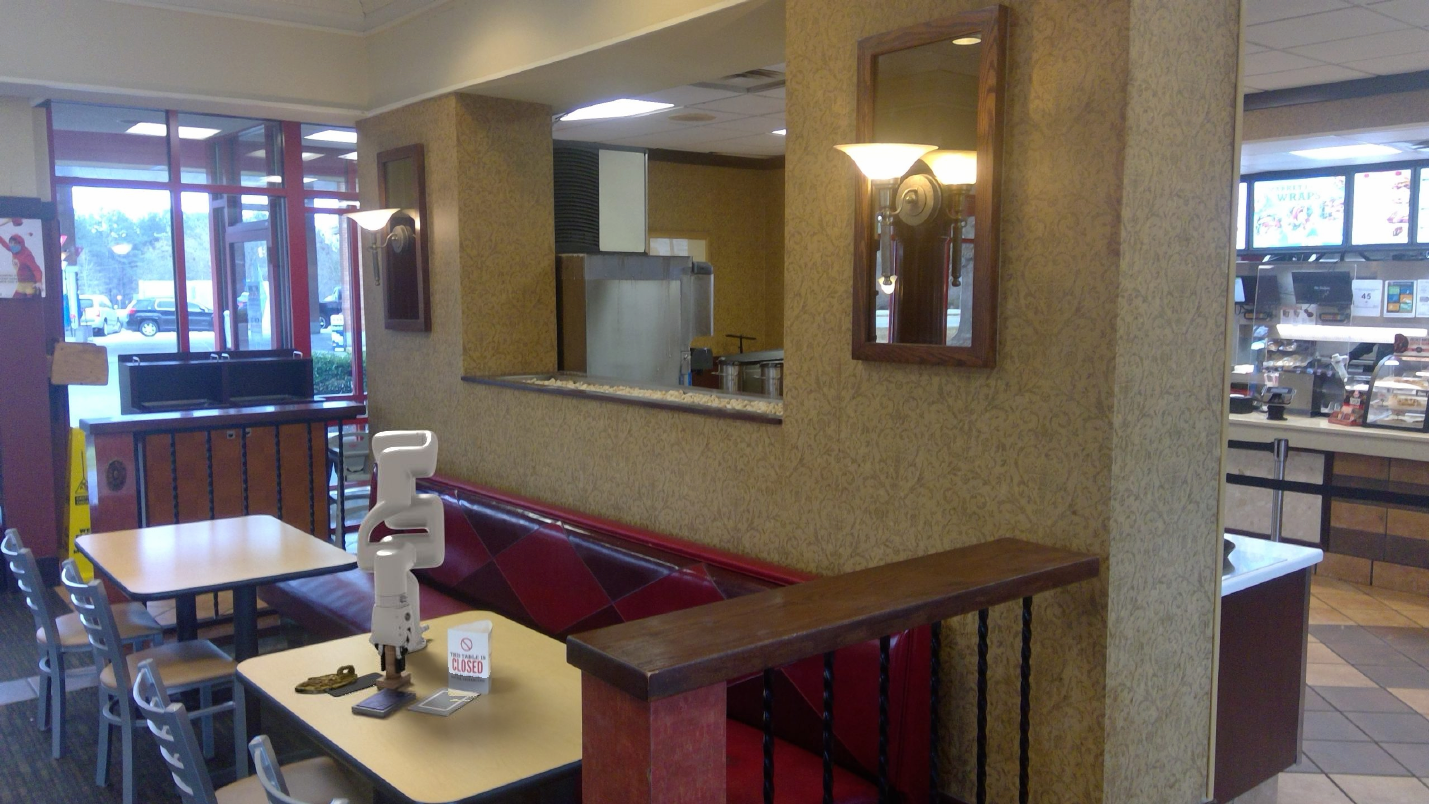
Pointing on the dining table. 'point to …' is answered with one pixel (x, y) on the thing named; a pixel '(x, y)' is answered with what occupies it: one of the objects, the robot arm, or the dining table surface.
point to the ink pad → (383, 703)
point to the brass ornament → (328, 681)
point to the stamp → (392, 672)
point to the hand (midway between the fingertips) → (393, 670)
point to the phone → (356, 685)
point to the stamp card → (440, 703)
